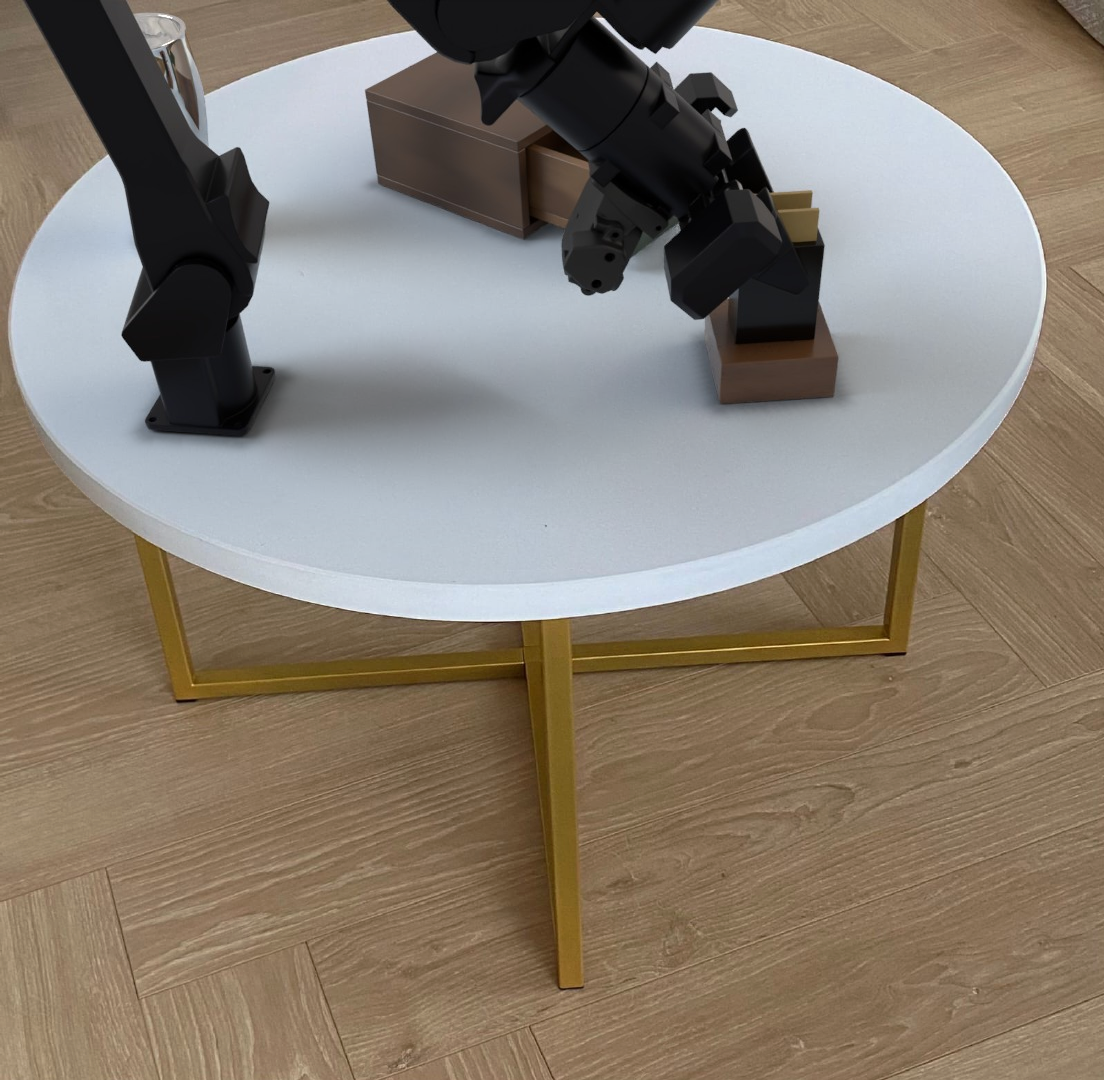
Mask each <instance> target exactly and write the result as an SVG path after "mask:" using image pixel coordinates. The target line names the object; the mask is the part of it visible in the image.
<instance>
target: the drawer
mask: <svg viewBox="0 0 1104 1080" xmlns="http://www.w3.org/2000/svg"><path fill="white" fill-rule="evenodd" d="M718 119H719V120H720V122H721V123H722V119H720V118H718ZM525 154H526V171H527V188H528V205H529V216H532V217H535V218H538V219H540V220H543V221H546V222H548V224H551V225H554V226H557V227H559V228H562V229H564V230H565V227H566V225H567V223H568V221H569V218H570V216H571V214H572V212H573V210H574V208H575V206H576V204H577V201H578V199H579V197H580V195H581V193H582V191H583V189H584V187H585V185H586V182H587V181H588V179H589V178H590V175H589V172H590V170H589V164H588V159H587V158H586V157H585V156H583V155H582V154H581V153H580V152H579V151H578V150H576V149H575V148H574V147H573V146H572V145H571V144H569V143H568V142H567V141H566V140H565V139H564V138H562V137H561V136H560V135H559V134H558V133H556V132H555V131H554V130H553V131H552V132H550V133H548V134H547V135H545V136H543V137H542V138H540V139H539V140H537V141H535V142H534V143H532V144H530V145H529V146H527V147H525ZM668 223H669V225H668V227H666V228H665V229H664V230H663V231H662V232H661V233H660V234H659V235H658V236H657V237H656V238H655V239H654V240H653V239H652V238H651V237H650V236H648V235H647V234H646V233H645V232H644V231H643V233H642V236H641V239H640V241H639V243H638V245H637V247H636V249H635V251H634V253H633V255H632V256H631V258H633V257H634V256H635V255H637V254H638V253H640V252H642V251H643V250H644V249H645V248H647V247H648V246H649V245H650V244H652V243H653V242H655V241H656V240H658V239H659V238H660V237H661V236H663V235H664V234H665V233H667V232H668V231H669V230H671V229H672V228H673V227H675V226H677V224H678V225H679V222H678V219H677V218H675V217H674V216H673V217H672V218H671V219H670V220H668Z"/></svg>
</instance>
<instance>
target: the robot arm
mask: <svg viewBox="0 0 1104 1080" xmlns="http://www.w3.org/2000/svg"><path fill="white" fill-rule="evenodd" d="M22 1H23V3H24V5H25V7H26V8H27V10H28V12H29V14H30V16H31V18H32V19H33V21H34V23H35V25H36V26H37V27H36V28H38V30H39V32H40V34H41V35H42V38H43V40H44V41H45V44H47V46H48V49H49V50H50V52H51V54H52V55H53V57H54V59H55V61H56V63H57V65H58V66H59V68H60V69H61V71H62V74H63V76H64V77H65V79H66V80H67V82H68V84H69V86H70V88H71V90H72V91H73V93H74V95H75V97H76V99H77V100H78V103H79V104H80V106H81V108H82V109H83V111H84V113H85V115H86V117H87V119H88V120H89V122H90V124H91V126H92V127H93V129H94V131H95V133H96V135H97V137H98V138H99V140H100V142H101V145H102V146H103V147H104V149H105V151H106V153H107V154H108V156H109V159H110V160H111V162H112V163H113V166H114V167H115V169H116V171H117V173H118V175H119V176H120V177H119V178H120V179H121V182H122V185H123V189H124V192H125V193H124V194H125V199H126V205H127V209H128V216H129V221H130V226H131V231H132V237H133V243H134V246H135V248H136V252H137V255H138V258H139V261H140V264H141V265H142V267H141V271H140V274H139V277H138V280H137V283H136V286H135V290H134V293H133V295H132V299H131V303H130V305H129V309H128V312H127V314H126V318H125V321H124V324H123V327H122V330H121V339H123V340H124V342H125V343H126V344H127V346H128V347H129V349H130V350H131V351H132V353H133V354H134V355H135V357H137V359H138V360H139V362H143V363H144V362H146V363H147V362H150V364H151V368H152V371H153V375H154V377H155V382H156V385H157V388H158V391H159V395H158V397H157V399H156V400H155V402H154V404H153V405H152V407H151V409H150V410H149V412H148V414H147V415H146V416H145V419H144V424H145V426H146V427H145V428H147V429H148V430H149V431H150V430H151V431H162V432H163V431H164V432H178V433H194V434H208V435H223V436H224V435H226V436H244V435H246V434H248V432H249V431H250V430H251V427H252V425H253V423H254V421H255V419H256V418H257V415H258V413H259V411H260V409H261V407H262V405H263V403H264V402H265V399H266V397H267V396H268V393H269V391H270V390H271V387H272V385H273V383H274V381H275V379H276V378H277V375H276V374H277V373H276V370H275V368H274V367H271V366H262V365H261V366H260V365H259V366H258V365H253V363H252V360H251V355H250V352H249V347H248V343H247V342H248V341H247V339H246V334H245V330H244V326H243V325H244V324H243V322H242V317H241V313H242V312H244V310H245V309H246V308H247V307H248V306H249V304H250V302H251V300H252V298H253V295H254V292H255V289H256V282H257V278H258V272H259V268H260V262H261V257H262V252H263V248H264V243H265V238H266V237H265V236H266V222H267V217H268V212H269V206H270V201H269V200H268V198H266V197H265V196H264V194H262V193H261V192H260V191H259V190H258V188H257V186H256V185H255V183H254V182H253V179H252V177H251V174H250V171H249V169H248V168H249V167H248V163H247V160H246V157H245V154H244V153H243V150H242V149H241V147H240V146H236V147H233V148H231V149H230V150H228V151H226V152H224V153H222V154H219V155H218V153H216V152H215V151H214V150H213V149H211V148H210V147H208V146H206V145H205V144H204V143H203V142H202V141H201V140H199V139H198V138H197V137H196V135H195V134H194V133H193V131H192V130H191V128H190V126H189V124H188V122H187V120H186V118H185V116H184V114H183V112H182V110H181V108H180V106H179V104H178V102H177V100H176V98H175V96H174V94H173V93H172V91H171V89H170V87H169V85H168V83H167V81H166V79H165V77H164V75H163V73H162V71H161V69H160V67H159V65H158V63H157V61H156V59H155V57H154V55H153V53H152V51H151V49H150V47H149V45H148V43H147V41H146V39H145V37H144V35H143V33H142V31H141V29H140V27H139V25H138V23H137V21H136V19H135V17H134V15H133V14H134V13H133V10H132V9H131V7H130V5H129V3H128V1H127V0H22ZM386 1H387V3H388V4H389V5H390V6H391V7H392V8H393V9H394V10H395V11H396V12H397V14H399V15H400V16H401V18H403V20H404V21H405V22H406V23H408V25H409V26H410V27H411V28H412V29H413V30H414V31H415V32H416V33H417V34H418V35H419V36H420V37H421V38H422V39H423V40H424V41H425V42H426V43H427V44H428V45H429V46H430V47H431V48H432V49H433V50H434V51H435V52H438V53H439V54H440V55H442V56H444V57H446V58H448V59H450V60H452V61H454V62H457V63H461V64H465V65H471V64H472V63H474V79H475V81H476V83H477V86H478V89H479V93H480V107H481V121H482V123H483V124H484V125H486V126H490V125H493V124H494V123H495V122H496V121H497V120H498V119H499V118H500V116H501V115H502V114H503V113H504V112H505V111H506V110H507V109H508V108H509V107H510V106H511V105H512V103H513V102H514V101H515V100H516V99H517V100H519V101H520V102H521V103H522V104H523V105H524V106H526V107H527V108H528V109H529V110H530V111H532V112H533V113H534V114H535V115H536V116H538V117H539V118H540V119H541V120H542V121H543V122H545V123H546V124H547V125H548V126H549V127H551V128H552V129H553V130H554V131H555V132H556V133H558V134H559V135H560V136H561V137H562V138H564V139H565V140H566V141H567V142H568V143H569V144H571V145H572V146H573V147H574V148H575V149H576V150H578V151H579V152H580V153H581V154H582V155H583V156H585V157H586V158H587V159H588V164H589V170H590V172H589V175H590V178H589V179H588V181H587V182H586V185H585V187H584V189H583V191H582V193H581V195H580V197H579V199H578V201H577V204H576V206H575V208H574V210H573V212H572V214H571V216H570V218H569V221H568V223H567V225H566V227H565V229H564V230H563V233H562V236H561V243H560V247H561V263H562V269H563V273H564V275H565V276H567V281H568V283H571V284H573V285H576V286H577V287H579V288H580V292H581V293H582V294H583V295H584V296H594V295H595V294H596V293H597V294H606V293H609V292H611V291H612V292H616V291H617V290H618V289H619V288H620V287H621V285H622V283H623V282H624V279H625V277H624V272H625V270H626V269H627V266H628V264H629V263H630V260H631V258H632V257H631V256H632V255H633V253H634V251H635V249H636V247H637V245H638V243H639V241H640V239H641V236H642V233H643V231H644V232H645V233H646V234H647V235H648V236H650V237H651V238H652V239H653V240H654V239H655V238H656V237H657V236H658V235H659V234H660V233H661V232H662V231H663V230H664V229H665V228H666V227H668V225H669V223H668V220H670V219H671V218H672V217H673V216H674V217H675V218H677V219H678V222H679V223H678V225H679V230H680V231H678V232H677V233H676V234H675V235H674V236H673V237H672V238H671V239H670V240H669V241H668V242H667V243H666V244H664V246H663V271H664V275H665V281H666V285H667V290H668V294H669V295H668V296H669V300H670V302H672V303H673V304H674V305H675V306H676V307H677V308H679V309H680V310H681V311H683V313H685V314H686V315H687V316H689V317H690V318H691V319H692V320H694V321H699V320H705V317H707V316H708V315H709V314H710V313H711V312H712V311H713V310H715V309H716V308H717V307H718V306H719V305H720V304H721V303H723V302H724V301H725V300H726V299H728V298H729V296H731V295H732V294H733V293H734V292H735V291H736V290H737V289H739V288H740V287H741V286H742V285H743V284H744V283H745V282H747V281H748V280H749V279H750V278H752V279H755V280H758V281H760V282H763V283H765V284H768V285H771V286H773V287H776V288H779V289H781V290H784V291H787V292H789V293H792V294H795V295H798V294H800V293H801V292H802V291H803V290H805V289H806V288H807V287H808V286H809V285H810V280H809V278H808V276H807V273H806V271H805V269H804V267H803V265H802V262H801V260H800V258H799V256H798V254H797V252H796V249H795V247H794V245H793V243H792V241H791V239H790V236H789V234H788V232H787V230H786V228H785V226H784V223H783V221H782V219H781V217H780V215H779V212H778V210H777V208H776V206H775V204H774V201H773V199H772V197H771V195H770V193H775V191H774V189H773V186H772V184H771V182H770V181H771V180H770V179H769V177H768V175H767V172H766V170H765V167H764V165H763V163H762V160H761V158H760V155H759V153H758V151H757V148H756V146H755V145H754V142H753V139H752V137H751V135H750V132H749V130H748V129H747V128H746V127H741V128H739V129H737V130H736V131H735V132H734V133H733V134H732V135H731V136H730V137H729V138H728V139H726V136H725V132H724V129H723V126H722V121H721V122H720V120H721V119H720V118H719V117H717V115H715V114H714V113H713V111H714V110H715V109H716V110H717V111H719V112H720V113H721V114H722V115H723V116H725V117H728V118H732V117H733V116H734V115H736V113H738V111H739V109H738V105H737V103H736V100H735V97H734V94H733V92H732V90H731V89H729V88H728V87H727V86H726V85H725V84H724V83H723V82H722V81H721V80H720V79H719V78H718V77H717V76H716V75H715V74H714V73H713V72H711V71H709V72H694V73H693V72H692V73H689V74H688V75H686V77H685V78H684V79H682V81H681V82H680V83H679V84H678V85H677V86H676V87H675V88H674V86H673V82H672V77H671V74H670V72H669V71H668V70H666V68H665V67H663V66H662V65H661V64H660V63H659V62H658V61H655V62H654V63H653V64H652V65H651V66H648V64H646V63H645V62H644V61H643V60H642V59H641V58H640V57H639V56H638V55H636V53H634V52H633V51H632V49H630V48H629V47H628V46H627V45H626V44H625V43H623V41H621V40H620V38H618V37H617V36H616V35H615V34H614V33H613V32H612V31H611V30H609V29H608V28H607V27H606V26H605V25H604V24H603V23H602V22H601V21H599V20H598V19H597V18H596V17H595V14H596V13H598V14H599V15H600V16H601V17H602V18H603V19H604V20H605V21H606V23H608V24H609V26H610V27H611V28H612V29H613V30H614V31H615V32H616V33H617V34H618V35H619V36H620V37H621V38H622V39H623V40H624V41H626V42H627V43H628V44H629V45H631V46H632V47H634V48H635V49H637V50H640V51H641V50H642V51H643V50H644V49H646V50H648V51H650V52H651V53H652V54H655V55H656V54H657V53H659V52H660V51H661V50H662V48H664V49H667V50H671V49H673V48H674V47H675V46H676V45H677V44H678V43H679V42H680V41H681V40H682V39H683V38H684V37H685V36H686V35H687V34H688V33H689V32H690V31H691V29H693V27H694V26H695V25H696V24H697V23H698V22H699V21H700V20H701V19H702V18H703V17H704V16H705V15H706V14H707V13H708V12H709V11H710V10H711V9H712V8H713V7H714V6H716V4H717V3H719V1H720V0H386ZM719 119H720V120H719ZM755 194H757V195H755ZM654 241H655V240H654Z"/></svg>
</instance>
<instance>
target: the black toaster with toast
mask: <svg viewBox="0 0 1104 1080" xmlns="http://www.w3.org/2000/svg"><path fill="white" fill-rule="evenodd" d="M813 193H814V192H813V190H812V189H807V190H806V189H805V190H791V191H778V192H775V191H774V193H770V195H771V197H772V199H773V201H774V204H775V206H776V208H777V210H778V212H779V215H780V217H781V219H782V221H783V223H784V226H785V228H786V230H787V232H788V234H789V236H790V239H791V241H792V243H793V245H794V247H795V249H796V252H797V254H798V256H799V258H800V260H801V262H802V265H803V267H804V269H805V271H806V273H807V276H808V278H809V280H810V285H809V286H808V287H807V288H806V289H805V290H803V291H802V292H801V293H800V294H798V295H795V294H792V293H789V292H787V291H784V290H781V289H779V288H776V287H773V286H771V285H768V284H765V283H763V282H760V281H758V280H755V279H752V278H750V279H749V280H748V281H747V282H745V283H744V284H743V285H742V286H741V287H740V288H739V289H737V290H736V291H735V292H734V293H733V294H732V295H731V296H729V297H728V298H729V302H728V318H729V322H730V325H731V329H732V333H733V337H734V341H735V344H749V343H764V342H780V341H796V340H811V339H815V330H816V321H817V312H818V302H819V303H820V292H821V282H822V273H823V265H824V264H823V263H824V256H825V242H824V240H823V237H822V234H821V232H820V229H819V220H820V211H821V209H820V208H819V207H812V204H813ZM755 195H757V194H755Z"/></svg>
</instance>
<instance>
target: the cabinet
mask: <svg viewBox="0 0 1104 1080" xmlns="http://www.w3.org/2000/svg"><path fill="white" fill-rule="evenodd" d="M364 93H365V100H366V107H367V115H368V121H369V129H370V136H371V144H372V150H373V158H374V165H375V172H376V178H377V184H378V185H381V186H383V187H386V188H388V189H390V190H394V191H396V192H399V193H402V194H404V195H406V196H409V197H411V198H414V199H417V200H420V201H422V202H425V203H427V204H430V205H432V206H435V207H437V208H441V209H443V210H446V211H448V212H451V213H453V214H456V215H457V216H461V217H463V218H467V219H468V220H472V221H475V222H476V223H479V224H481V225H485V226H488V227H490V228H492V229H494V230H498V231H500V232H503V233H505V234H508V235H511V236H513V237H515V238H519V239H521V240H525V239H527V238H528V237H530V236H532V235H533V234H534V233H536V232H537V231H539V230H540V229H542V228H543V227H544V226H546V225H547V224H549V223H548V222H546V221H543V220H540V219H538V218H535V217H532V216H529V205H528V188H527V171H526V154H525V147H527V146H529V145H530V144H532V143H534V142H535V141H537V140H539V139H540V138H542V137H543V136H545V135H547V134H548V133H550V132H552V131H553V129H552V128H551V127H549V126H548V125H547V124H546V123H545V122H543V121H542V120H541V119H540V118H539V117H538V116H536V115H535V114H534V113H533V112H532V111H530V110H529V109H528V108H527V107H526V106H524V105H523V104H522V103H521V102H520V101H519V100H517V99H516V100H515V101H514V102H513V103H512V105H511V106H510V107H509V108H508V109H507V110H506V111H505V112H504V113H503V114H502V115H501V116H500V118H499V119H498V120H497V121H496V122H495V123H494V124H493V125H490V126H486V125H484V124H483V123H482V121H481V107H480V93H479V89H478V86H477V83H476V81H475V79H474V63H472V64H471V65H465V64H461V63H457V62H454V61H452V60H450V59H448V58H446V57H444V56H442V55H440V54H439V53H438V52H437V51H435V52H434V53H432V54H430V55H428V56H426V57H425V58H423V59H420V60H419V61H417V62H416V63H413V64H410V65H409V66H407V67H406V68H404V69H402V70H400V71H398V72H396V73H394V74H392V75H391V76H388V77H386V78H384V79H382V80H381V81H379V82H376V83H374V84H373V85H371V86H370V87H368V88H365V89H364Z"/></svg>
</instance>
